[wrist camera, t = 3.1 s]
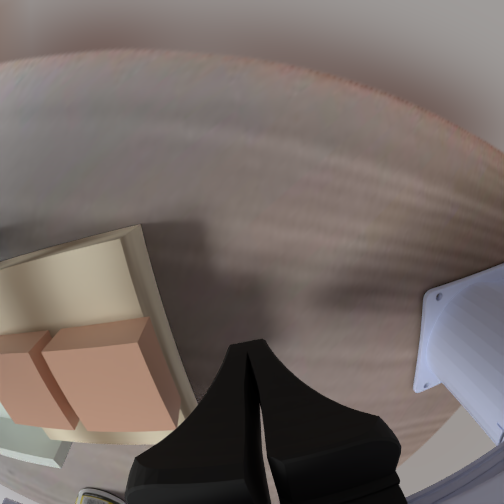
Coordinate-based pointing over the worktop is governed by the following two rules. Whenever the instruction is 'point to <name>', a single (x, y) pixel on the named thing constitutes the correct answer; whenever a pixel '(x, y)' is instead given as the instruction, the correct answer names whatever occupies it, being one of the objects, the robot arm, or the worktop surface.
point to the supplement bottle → (97, 497)
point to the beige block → (91, 306)
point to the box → (30, 443)
